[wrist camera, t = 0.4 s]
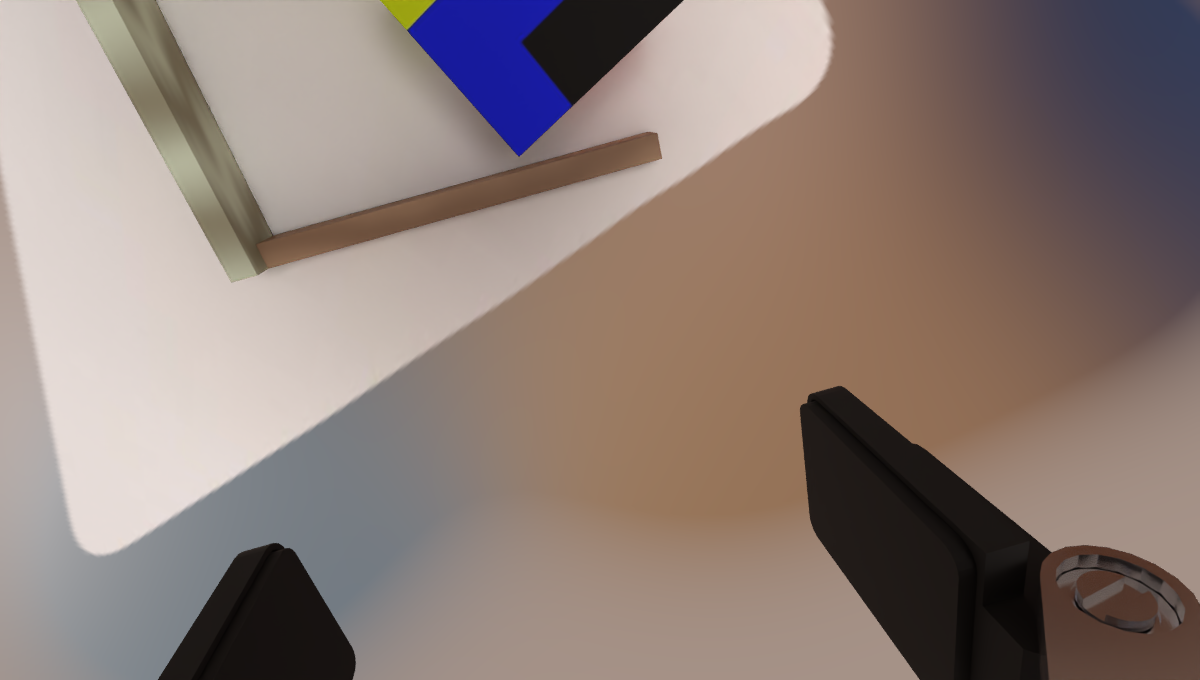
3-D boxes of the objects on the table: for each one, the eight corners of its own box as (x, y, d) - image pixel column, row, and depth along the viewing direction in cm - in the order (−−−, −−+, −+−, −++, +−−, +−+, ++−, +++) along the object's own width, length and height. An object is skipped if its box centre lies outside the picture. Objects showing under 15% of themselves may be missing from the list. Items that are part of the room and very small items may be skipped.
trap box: (74, -94, 27) (6, -126, 24) (577, -222, 28) (586, -271, 25) (261, 264, 35) (231, 282, 31) (652, 155, 36) (668, 160, 32)
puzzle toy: (517, 145, 35) (519, 157, 25) (392, 2, 31) (341, -44, 22) (638, 29, 33) (686, -3, 24) (522, -136, 29) (526, -248, 20)
